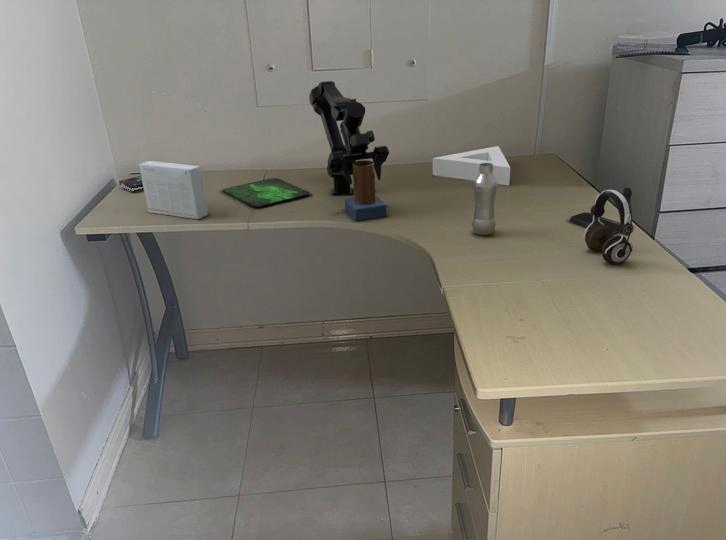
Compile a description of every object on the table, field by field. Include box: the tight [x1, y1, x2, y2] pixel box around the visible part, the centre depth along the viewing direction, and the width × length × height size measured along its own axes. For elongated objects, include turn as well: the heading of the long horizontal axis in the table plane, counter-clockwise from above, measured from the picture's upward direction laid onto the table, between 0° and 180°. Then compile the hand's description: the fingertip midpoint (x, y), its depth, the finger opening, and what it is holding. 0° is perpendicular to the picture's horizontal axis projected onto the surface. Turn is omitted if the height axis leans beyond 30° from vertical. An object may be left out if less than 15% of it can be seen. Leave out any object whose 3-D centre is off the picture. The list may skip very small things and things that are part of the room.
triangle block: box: [432, 145, 511, 186], centre depth 235 cm, size 30×26×6 cm
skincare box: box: [138, 160, 209, 220], centre depth 204 cm, size 21×6×16 cm, turn 65°
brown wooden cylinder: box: [352, 159, 376, 205], centre depth 198 cm, size 7×7×12 cm
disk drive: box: [118, 175, 144, 193], centre depth 235 cm, size 10×3×15 cm
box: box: [343, 194, 388, 222], centre depth 202 cm, size 11×10×4 cm
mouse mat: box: [221, 177, 311, 208], centre depth 224 cm, size 27×22×1 cm
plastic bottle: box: [471, 163, 498, 236], centre depth 180 cm, size 6×7×20 cm
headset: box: [583, 186, 635, 265], centre depth 163 cm, size 17×8×20 cm, turn 13°
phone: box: [569, 211, 620, 235], centre depth 188 cm, size 8×1×15 cm
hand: (365, 181), depth 196 cm, fingers open, 9 cm apart
